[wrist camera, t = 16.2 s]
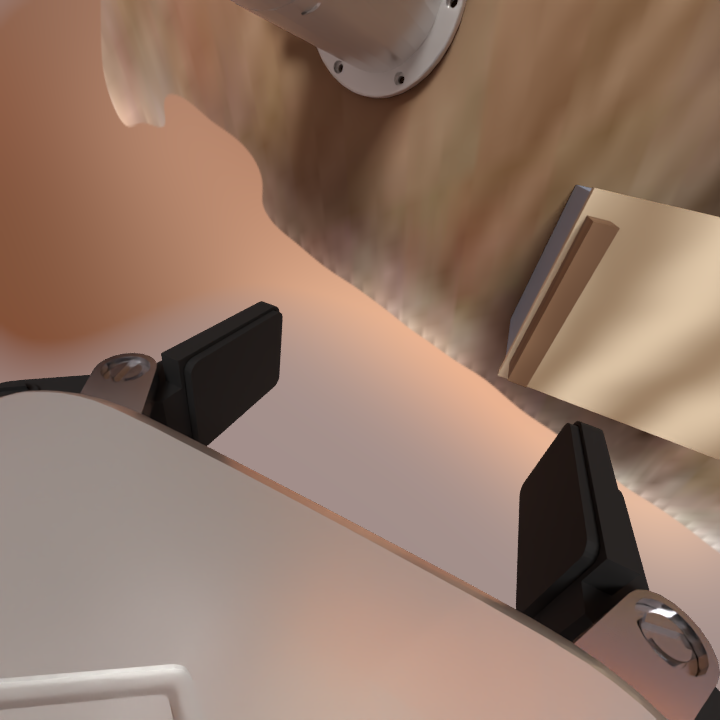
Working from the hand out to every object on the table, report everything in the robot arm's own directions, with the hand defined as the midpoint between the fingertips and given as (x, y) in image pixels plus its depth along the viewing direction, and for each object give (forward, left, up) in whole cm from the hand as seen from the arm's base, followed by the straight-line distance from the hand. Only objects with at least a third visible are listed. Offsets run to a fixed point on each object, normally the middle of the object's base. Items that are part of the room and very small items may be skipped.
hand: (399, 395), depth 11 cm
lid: (+14, 0, -16) cm, 21 cm away
